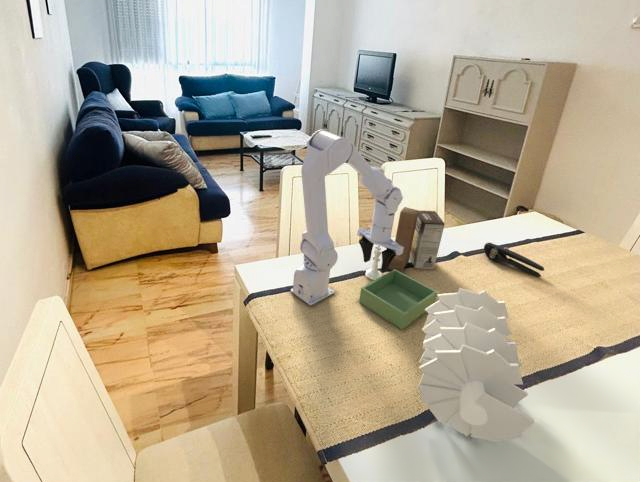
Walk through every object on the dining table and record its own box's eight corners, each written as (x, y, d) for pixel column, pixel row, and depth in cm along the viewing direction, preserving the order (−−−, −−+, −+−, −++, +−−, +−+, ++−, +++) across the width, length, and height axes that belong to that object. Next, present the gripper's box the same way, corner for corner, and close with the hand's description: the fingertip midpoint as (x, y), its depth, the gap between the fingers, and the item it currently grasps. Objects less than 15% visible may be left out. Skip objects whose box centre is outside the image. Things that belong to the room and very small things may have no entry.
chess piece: (378, 282, 111) (383, 252, 108) (362, 275, 114) (367, 246, 110) (384, 275, 115) (390, 245, 111) (369, 268, 118) (374, 240, 114)
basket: (401, 329, 93) (405, 314, 91) (358, 301, 102) (361, 287, 101) (434, 305, 102) (437, 291, 101) (392, 282, 112) (394, 268, 110)
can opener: (477, 257, 127) (481, 242, 125) (486, 251, 132) (490, 236, 130) (537, 282, 115) (542, 266, 113) (544, 274, 120) (550, 259, 118)
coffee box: (406, 253, 128) (414, 209, 122) (425, 254, 128) (435, 210, 122) (414, 268, 119) (424, 222, 113) (435, 269, 119) (446, 223, 113)
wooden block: (400, 274, 116) (411, 220, 109) (386, 269, 118) (395, 216, 111) (408, 261, 123) (419, 210, 116) (394, 256, 125) (404, 206, 119)
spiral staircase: (431, 451, 70) (434, 351, 91) (545, 460, 61) (520, 348, 83) (401, 371, 65) (412, 286, 87) (520, 370, 57) (500, 276, 78)
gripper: (412, 230, 106) (404, 272, 111) (370, 211, 116) (364, 251, 121) (398, 237, 101) (390, 280, 106) (355, 217, 111) (349, 258, 116)
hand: (375, 265), depth 113 cm, fingers open, 6 cm apart
